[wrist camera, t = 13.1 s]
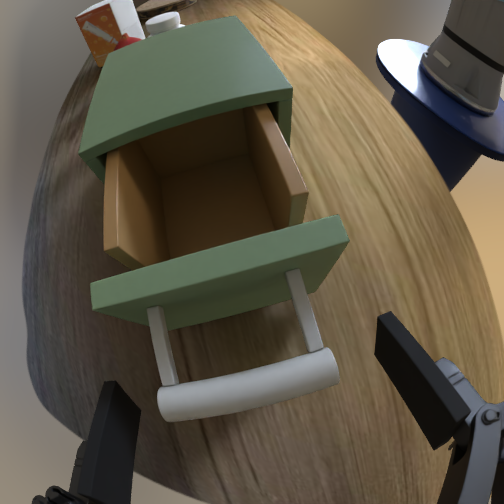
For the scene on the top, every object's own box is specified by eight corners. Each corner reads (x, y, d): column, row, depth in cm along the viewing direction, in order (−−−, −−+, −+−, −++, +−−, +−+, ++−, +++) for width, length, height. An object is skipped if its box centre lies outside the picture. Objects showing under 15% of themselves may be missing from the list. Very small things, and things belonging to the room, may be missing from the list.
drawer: (337, 362, 16) (393, 370, 8) (184, 400, 16) (116, 432, 8) (264, 151, 22) (258, 65, 14) (148, 184, 22) (102, 113, 14)
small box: (98, 68, 35) (73, 17, 23) (115, 51, 37) (94, 3, 25) (132, 60, 34) (109, 2, 21) (148, 43, 36) (130, -10, 24)
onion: (121, 91, 30) (100, 49, 22) (122, 75, 32) (105, 37, 24) (158, 75, 30) (142, 31, 23) (156, 61, 32) (142, 21, 25)
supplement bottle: (188, 87, 28) (169, 22, 19) (153, 88, 29) (130, 30, 20) (205, 66, 30) (192, 7, 21) (172, 67, 31) (155, 13, 22)
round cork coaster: (148, 22, 42) (145, 12, 39) (132, 16, 47) (129, 8, 44) (207, 1, 44) (205, -8, 42) (182, -3, 49) (180, -11, 47)
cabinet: (287, 196, 22) (293, 87, 12) (149, 234, 21) (77, 154, 11) (245, 98, 26) (235, 15, 16) (144, 128, 26) (107, 53, 16)
